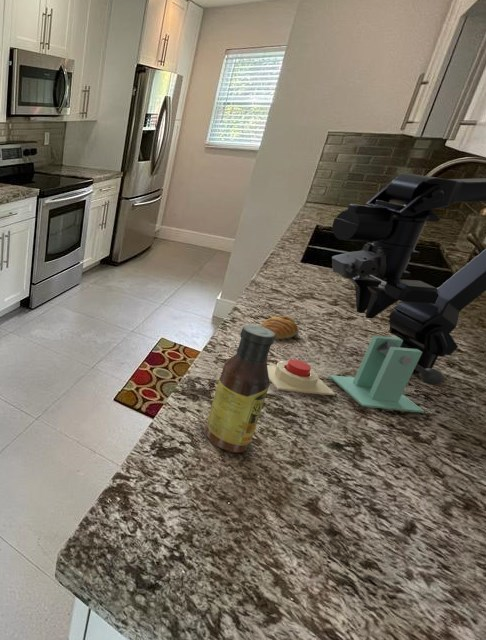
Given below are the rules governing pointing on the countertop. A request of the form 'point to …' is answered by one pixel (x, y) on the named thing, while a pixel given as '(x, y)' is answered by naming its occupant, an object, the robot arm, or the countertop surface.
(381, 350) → the press lever
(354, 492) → the countertop surface
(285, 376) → the button block
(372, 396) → the lever bracket
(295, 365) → the button
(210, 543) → the countertop surface
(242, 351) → the sauce bottle
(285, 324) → the pastry
